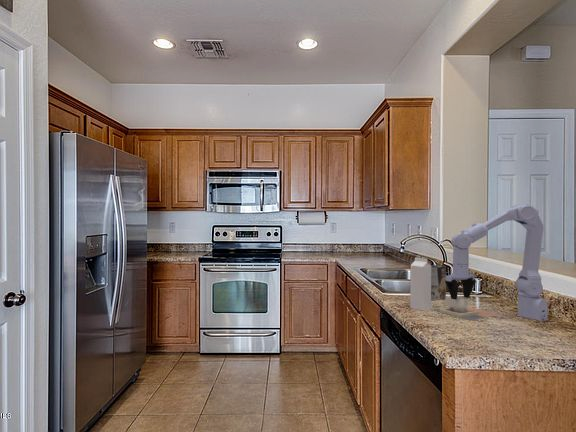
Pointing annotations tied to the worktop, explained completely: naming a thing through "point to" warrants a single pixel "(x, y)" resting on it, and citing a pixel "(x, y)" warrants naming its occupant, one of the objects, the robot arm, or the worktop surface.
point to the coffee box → (438, 282)
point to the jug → (457, 304)
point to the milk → (420, 284)
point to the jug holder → (470, 315)
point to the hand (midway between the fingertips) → (460, 298)
